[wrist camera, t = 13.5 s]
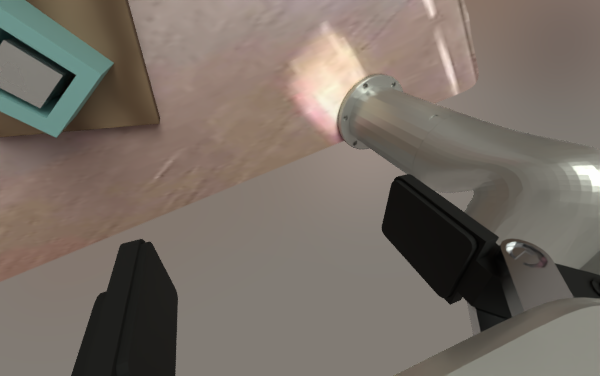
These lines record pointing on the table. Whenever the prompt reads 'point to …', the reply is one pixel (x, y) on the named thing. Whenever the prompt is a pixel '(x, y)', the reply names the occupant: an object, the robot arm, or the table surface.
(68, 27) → the post board
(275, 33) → the table surface
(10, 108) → the collar
